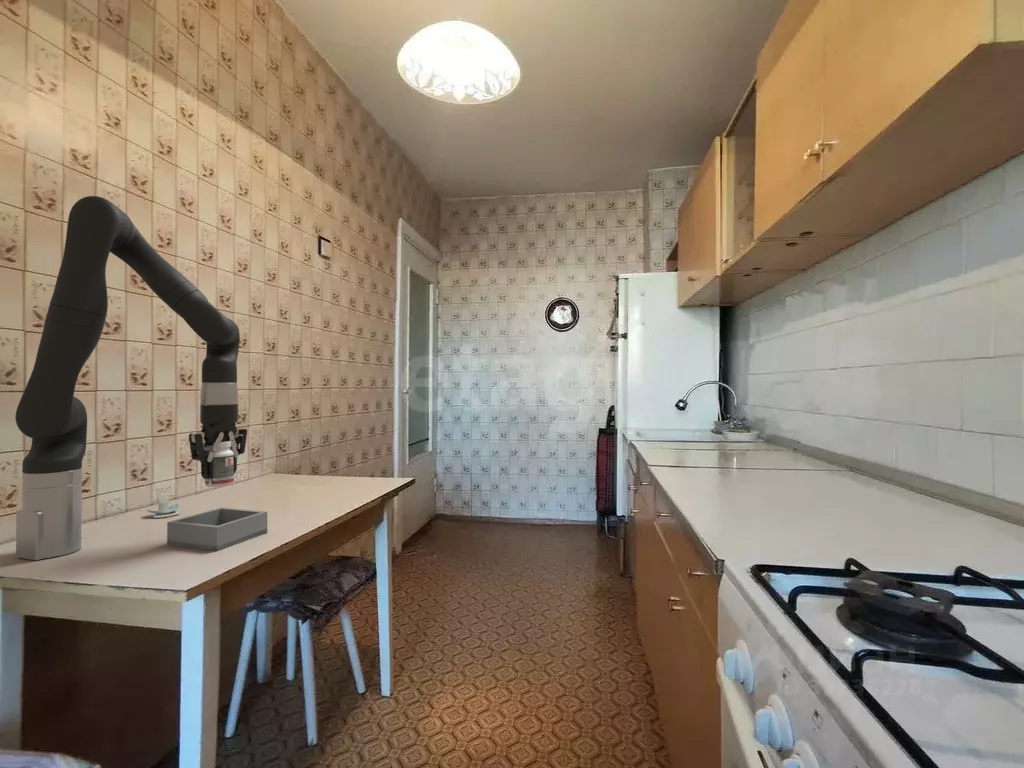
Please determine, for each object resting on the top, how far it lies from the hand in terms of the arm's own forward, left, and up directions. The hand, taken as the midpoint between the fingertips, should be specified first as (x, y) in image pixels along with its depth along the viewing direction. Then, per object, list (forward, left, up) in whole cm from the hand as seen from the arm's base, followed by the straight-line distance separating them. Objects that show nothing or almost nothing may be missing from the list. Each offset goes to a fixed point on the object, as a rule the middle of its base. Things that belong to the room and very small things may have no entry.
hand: (219, 475), depth 115 cm
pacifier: (+12, +31, -15) cm, 37 cm away
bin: (0, 0, -14) cm, 14 cm away
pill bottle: (0, 0, -2) cm, 2 cm away
